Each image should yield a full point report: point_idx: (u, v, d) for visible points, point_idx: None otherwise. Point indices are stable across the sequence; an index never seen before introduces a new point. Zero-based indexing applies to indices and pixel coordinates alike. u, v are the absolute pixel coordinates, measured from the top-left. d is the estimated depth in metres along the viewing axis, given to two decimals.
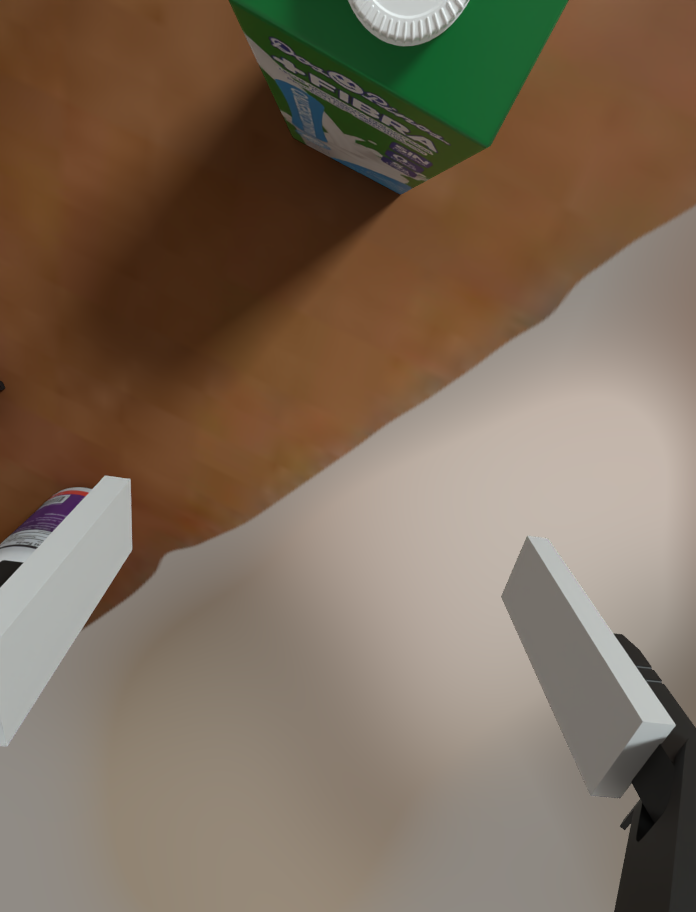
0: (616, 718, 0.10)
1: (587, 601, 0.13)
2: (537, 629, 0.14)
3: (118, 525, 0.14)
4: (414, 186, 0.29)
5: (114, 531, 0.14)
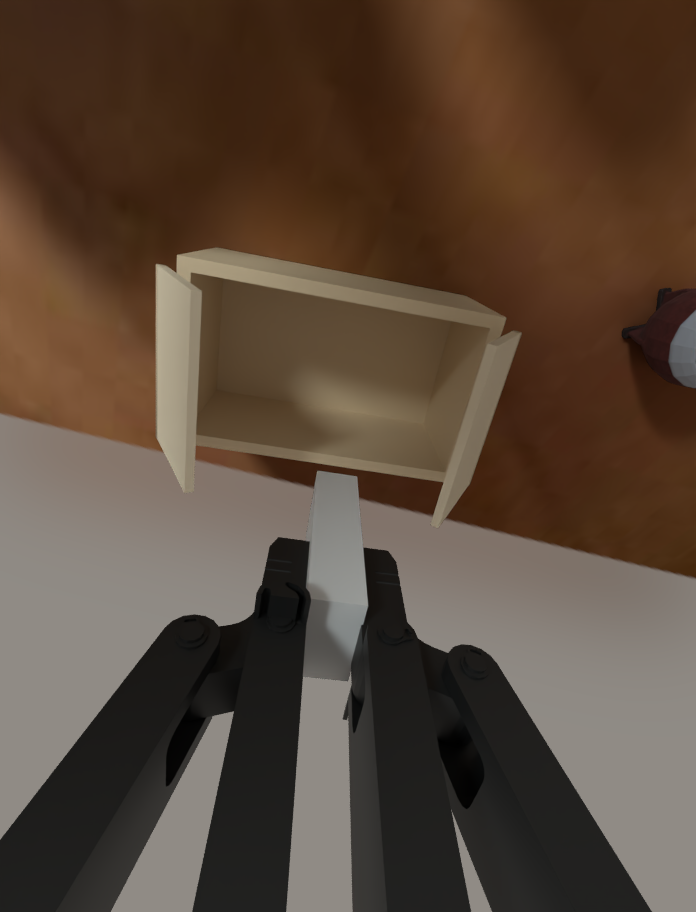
0: None
1: (356, 521, 0.14)
2: None
3: None
4: None
5: None
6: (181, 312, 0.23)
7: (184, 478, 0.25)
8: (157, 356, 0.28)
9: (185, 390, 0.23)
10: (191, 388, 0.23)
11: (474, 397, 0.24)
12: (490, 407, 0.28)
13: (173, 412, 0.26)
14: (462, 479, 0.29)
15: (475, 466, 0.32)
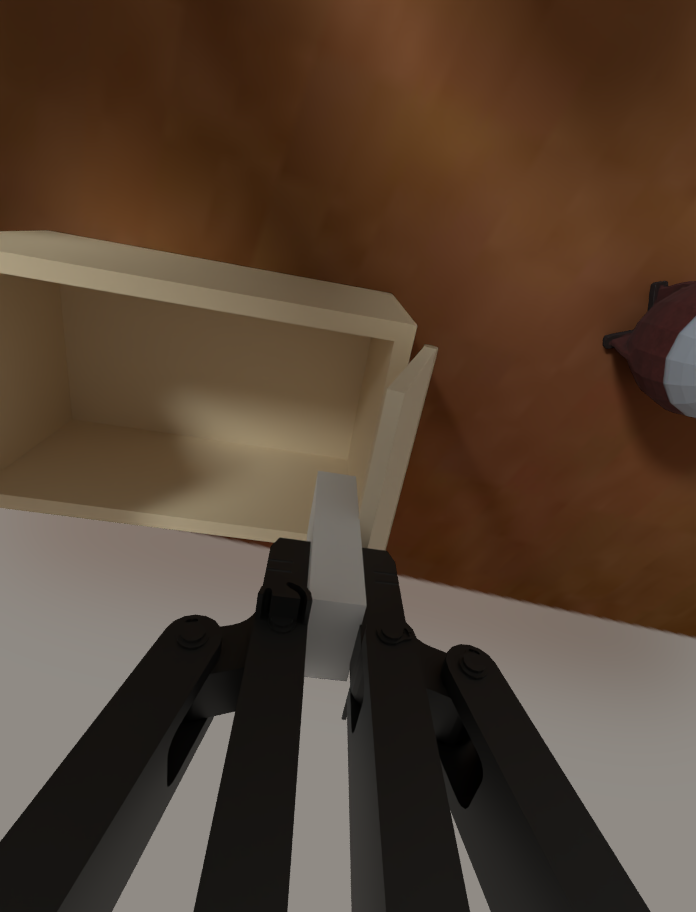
0: None
1: (355, 521, 0.14)
2: None
3: None
4: None
5: None
6: None
7: None
8: None
9: None
10: None
11: (374, 477, 0.14)
12: (402, 464, 0.19)
13: None
14: None
15: (389, 534, 0.23)
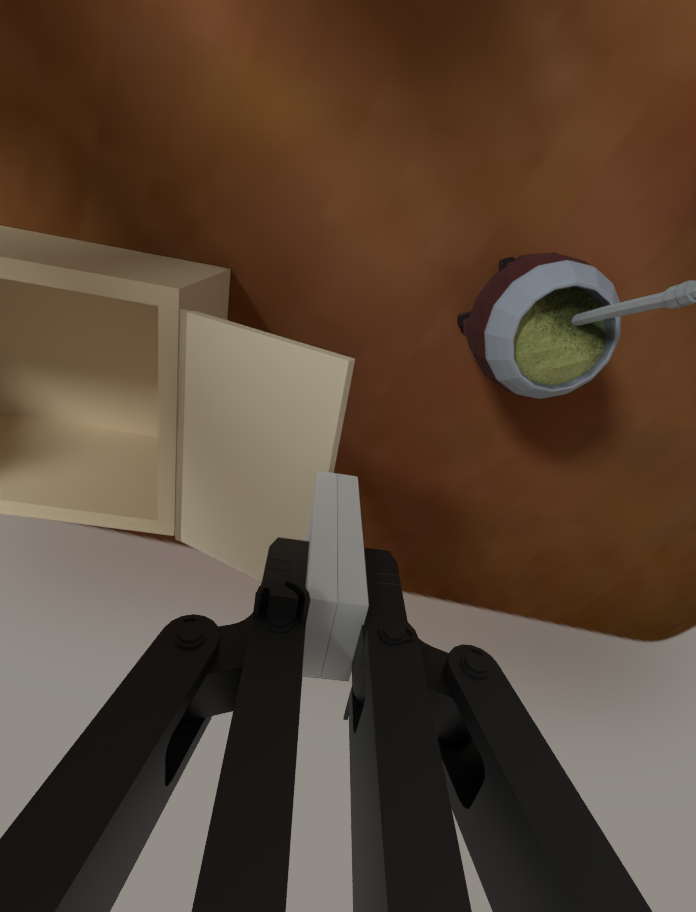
0: None
1: (357, 521, 0.14)
2: None
3: None
4: None
5: None
6: None
7: None
8: None
9: None
10: None
11: (338, 434, 0.17)
12: None
13: None
14: None
15: None
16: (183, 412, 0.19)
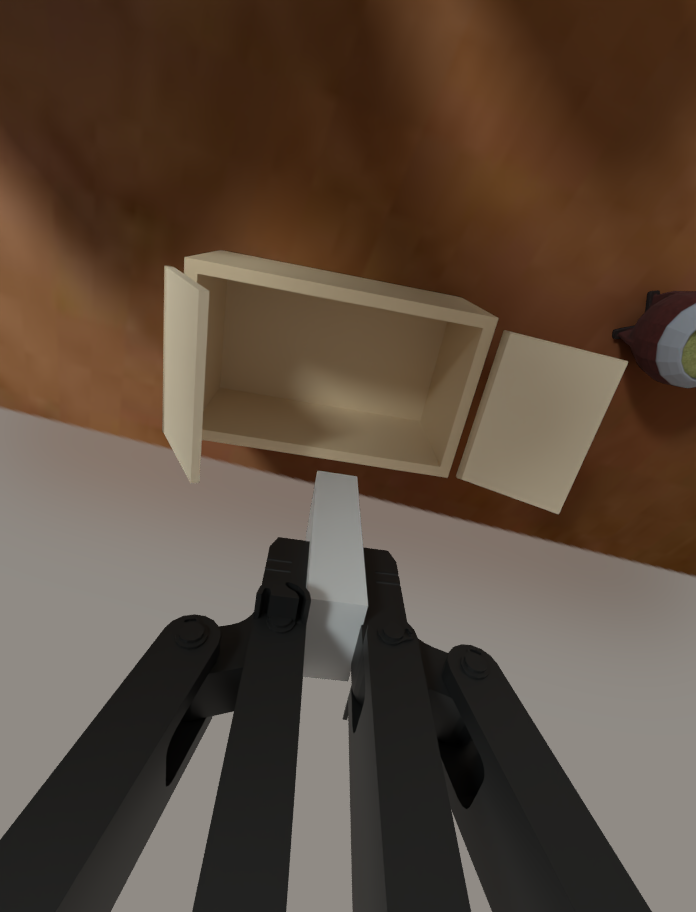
0: None
1: (356, 521, 0.14)
2: None
3: None
4: None
5: None
6: (189, 311, 0.24)
7: (190, 469, 0.27)
8: (165, 353, 0.29)
9: (192, 385, 0.25)
10: (198, 383, 0.24)
11: (608, 404, 0.29)
12: None
13: (180, 406, 0.27)
14: None
15: None
16: (489, 393, 0.31)
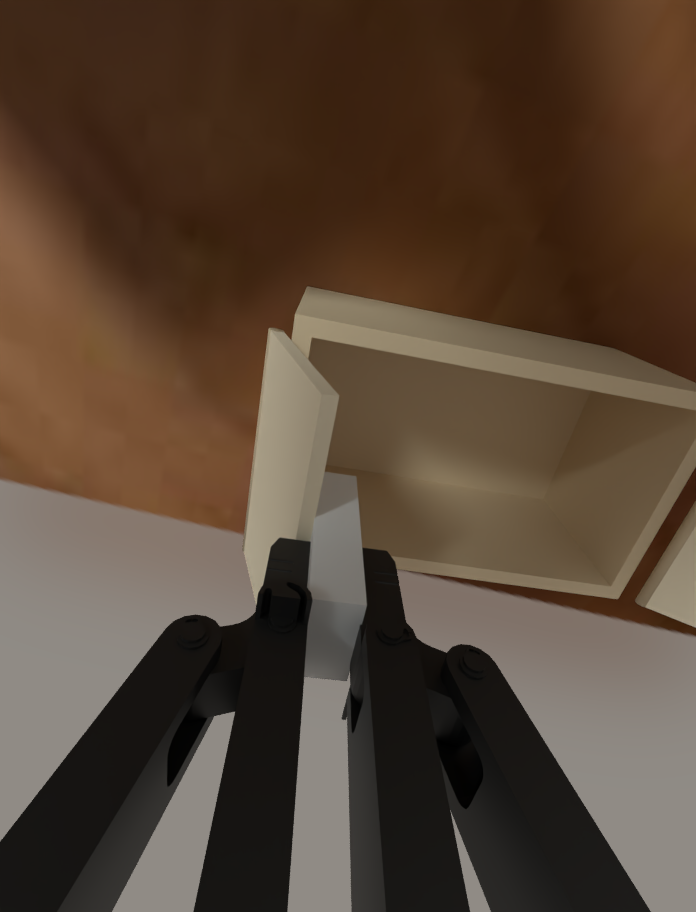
0: None
1: (355, 521, 0.14)
2: None
3: None
4: None
5: None
6: (300, 418, 0.14)
7: None
8: (256, 450, 0.20)
9: (291, 536, 0.15)
10: (301, 537, 0.14)
11: None
12: None
13: (269, 545, 0.17)
14: None
15: None
16: None
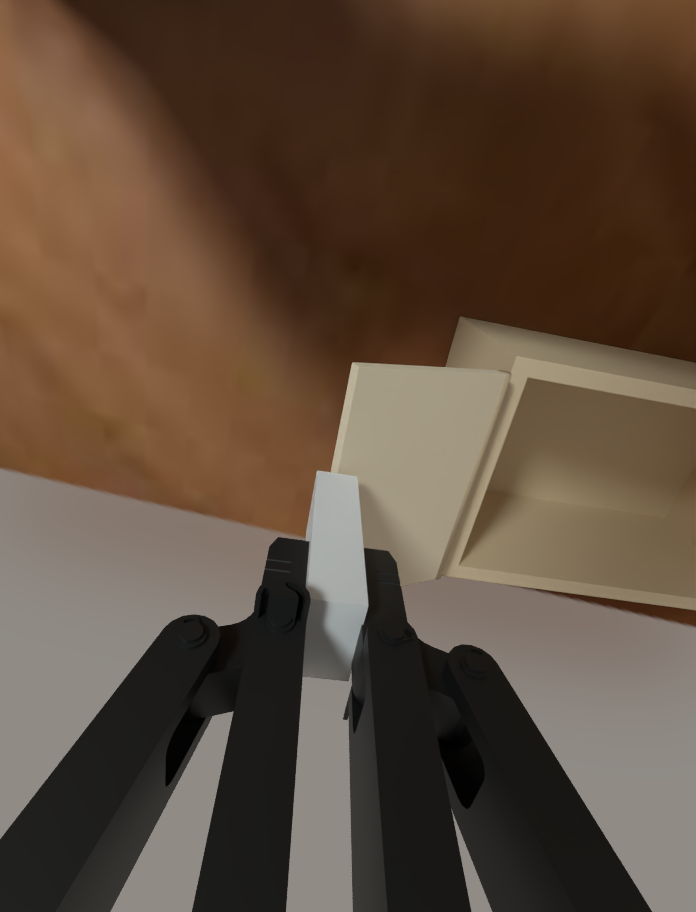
0: None
1: (357, 521, 0.14)
2: None
3: None
4: None
5: None
6: None
7: None
8: None
9: None
10: None
11: None
12: None
13: None
14: None
15: None
16: None
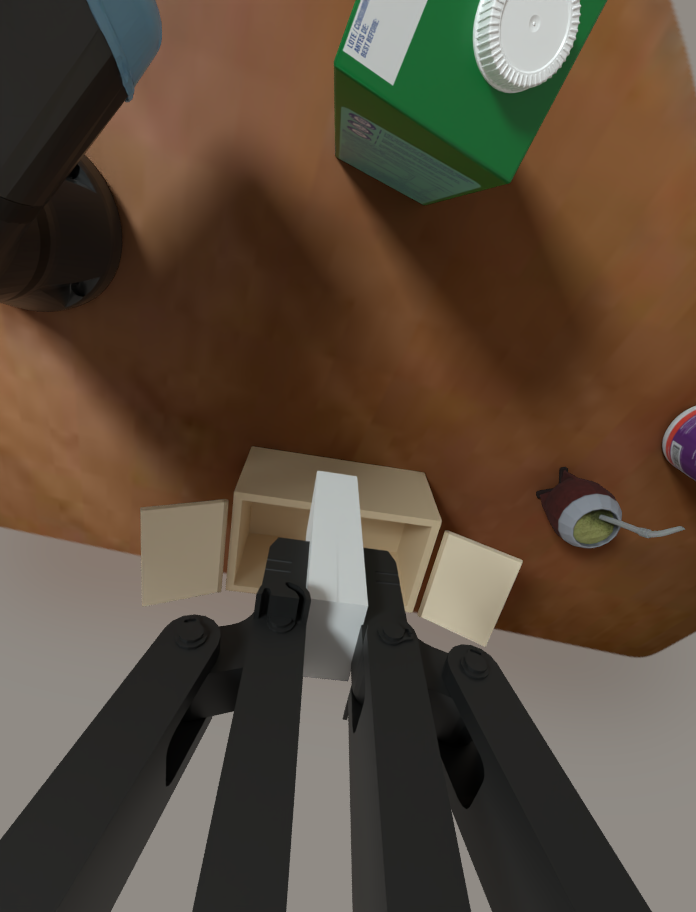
0: None
1: (356, 521, 0.14)
2: None
3: None
4: None
5: None
6: None
7: None
8: None
9: None
10: (141, 553, 0.41)
11: (512, 584, 0.43)
12: None
13: None
14: None
15: None
16: (437, 567, 0.46)
